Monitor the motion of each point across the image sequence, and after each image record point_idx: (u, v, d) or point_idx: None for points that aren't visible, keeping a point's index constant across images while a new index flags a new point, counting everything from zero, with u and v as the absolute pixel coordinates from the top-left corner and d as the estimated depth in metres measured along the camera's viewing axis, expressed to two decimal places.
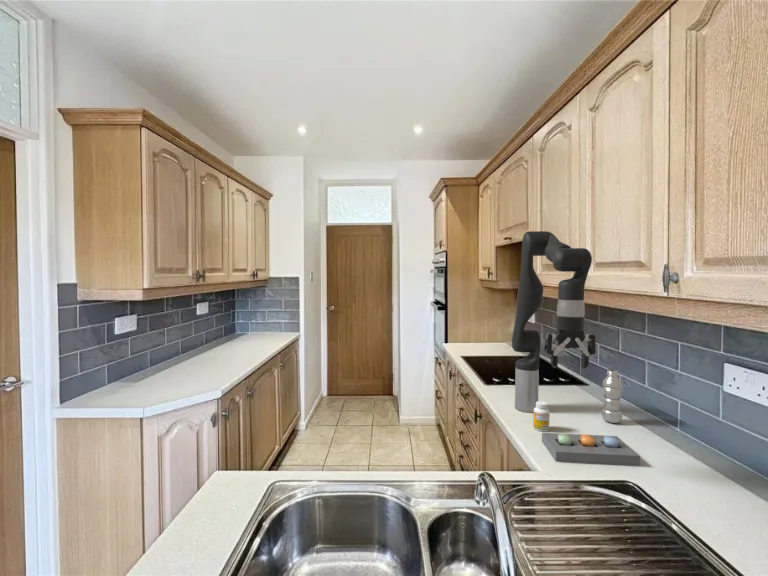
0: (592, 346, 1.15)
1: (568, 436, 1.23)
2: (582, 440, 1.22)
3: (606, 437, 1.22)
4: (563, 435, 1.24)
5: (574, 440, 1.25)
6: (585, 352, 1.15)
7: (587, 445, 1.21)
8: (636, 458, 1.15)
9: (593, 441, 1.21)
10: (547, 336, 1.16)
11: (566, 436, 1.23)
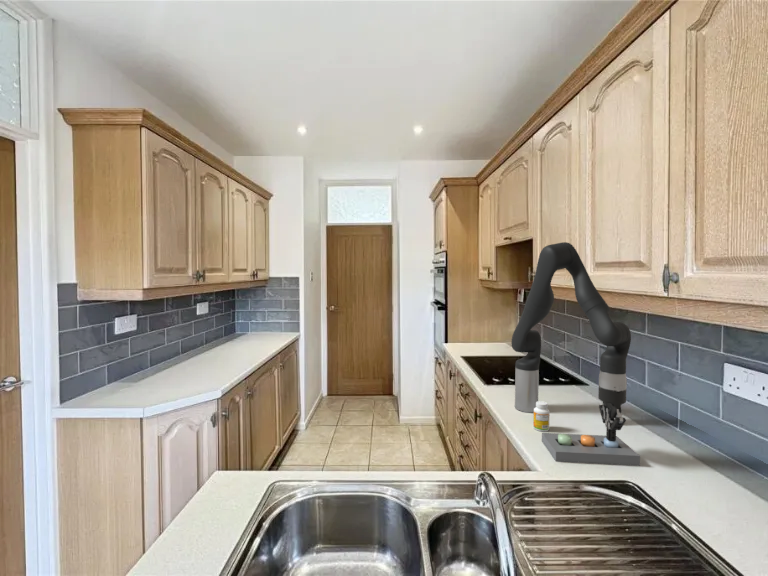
0: None
1: (568, 436, 1.23)
2: (582, 440, 1.22)
3: (606, 439, 1.23)
4: (563, 435, 1.24)
5: (574, 440, 1.25)
6: None
7: (587, 445, 1.21)
8: (636, 458, 1.15)
9: (593, 441, 1.21)
10: (622, 421, 1.16)
11: (566, 436, 1.23)
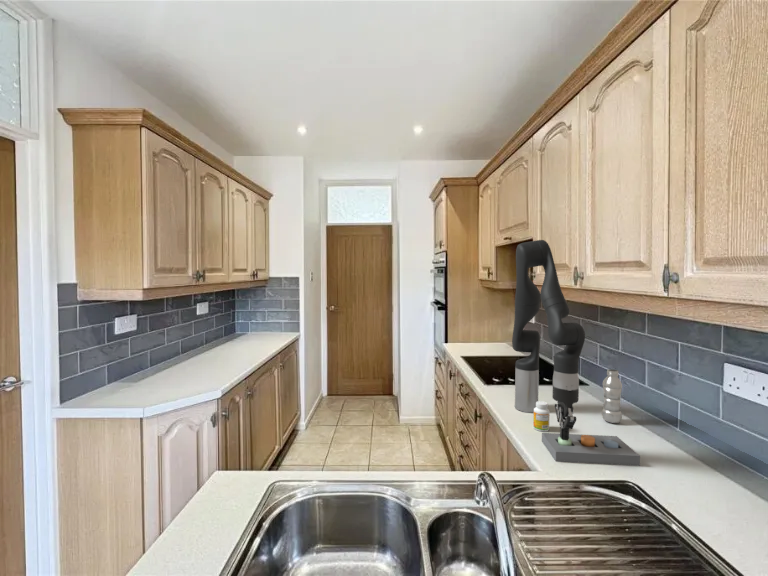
0: None
1: None
2: (582, 440, 1.22)
3: (606, 441, 1.23)
4: None
5: (574, 440, 1.25)
6: None
7: (587, 445, 1.21)
8: (636, 458, 1.15)
9: (593, 441, 1.21)
10: (573, 420, 1.17)
11: None
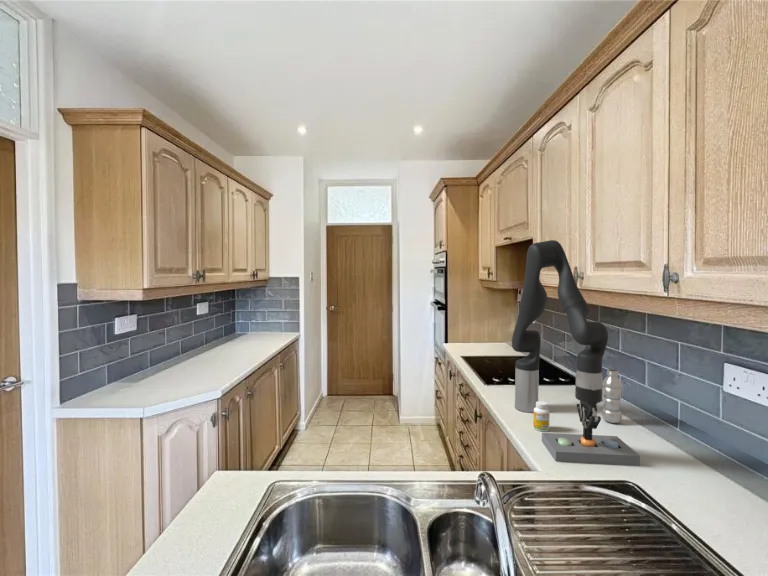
0: None
1: (568, 440, 1.23)
2: (582, 441, 1.22)
3: (606, 441, 1.23)
4: (563, 439, 1.24)
5: (574, 440, 1.25)
6: None
7: (587, 446, 1.21)
8: (636, 458, 1.15)
9: (593, 442, 1.21)
10: (597, 420, 1.16)
11: (566, 440, 1.23)
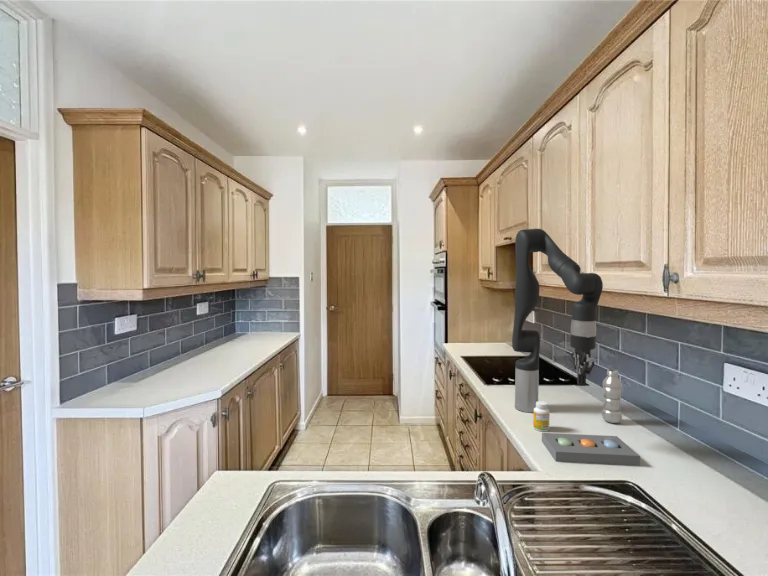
0: None
1: (568, 440, 1.23)
2: (582, 444, 1.22)
3: (606, 441, 1.23)
4: (563, 439, 1.24)
5: (574, 440, 1.25)
6: None
7: None
8: (636, 458, 1.15)
9: (593, 445, 1.21)
10: (591, 365, 1.22)
11: (566, 440, 1.23)
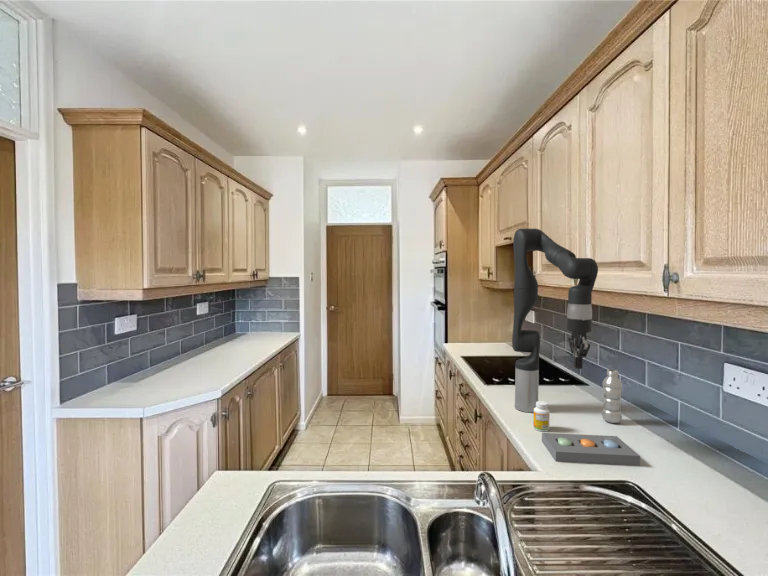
0: None
1: (568, 440, 1.23)
2: (582, 444, 1.22)
3: (606, 441, 1.23)
4: (563, 439, 1.24)
5: (574, 440, 1.25)
6: None
7: None
8: (636, 458, 1.15)
9: (593, 445, 1.21)
10: (587, 347, 1.25)
11: (566, 440, 1.23)
